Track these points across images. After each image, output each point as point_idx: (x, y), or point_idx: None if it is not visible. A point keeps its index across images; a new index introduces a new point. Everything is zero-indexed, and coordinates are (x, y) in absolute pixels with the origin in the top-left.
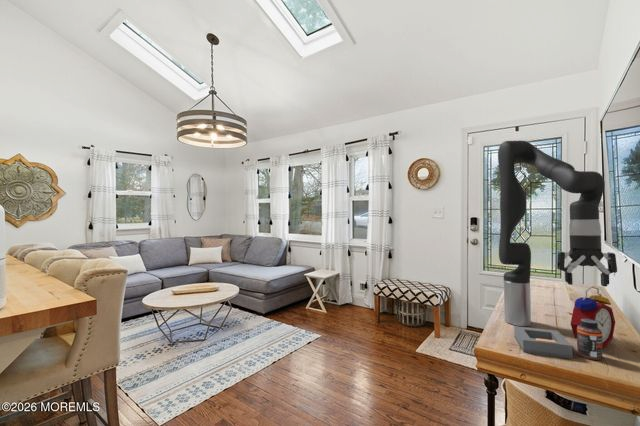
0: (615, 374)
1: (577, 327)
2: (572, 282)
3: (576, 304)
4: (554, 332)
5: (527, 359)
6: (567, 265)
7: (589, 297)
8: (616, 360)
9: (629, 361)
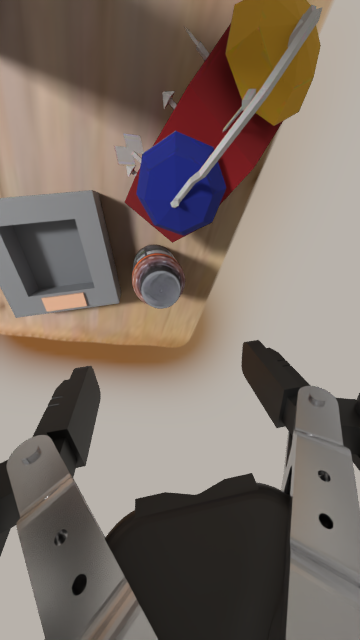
0: (174, 326)
1: (132, 282)
2: (98, 405)
3: (143, 202)
4: (83, 215)
5: (43, 336)
6: (20, 510)
7: (234, 51)
8: (197, 261)
9: (218, 255)
